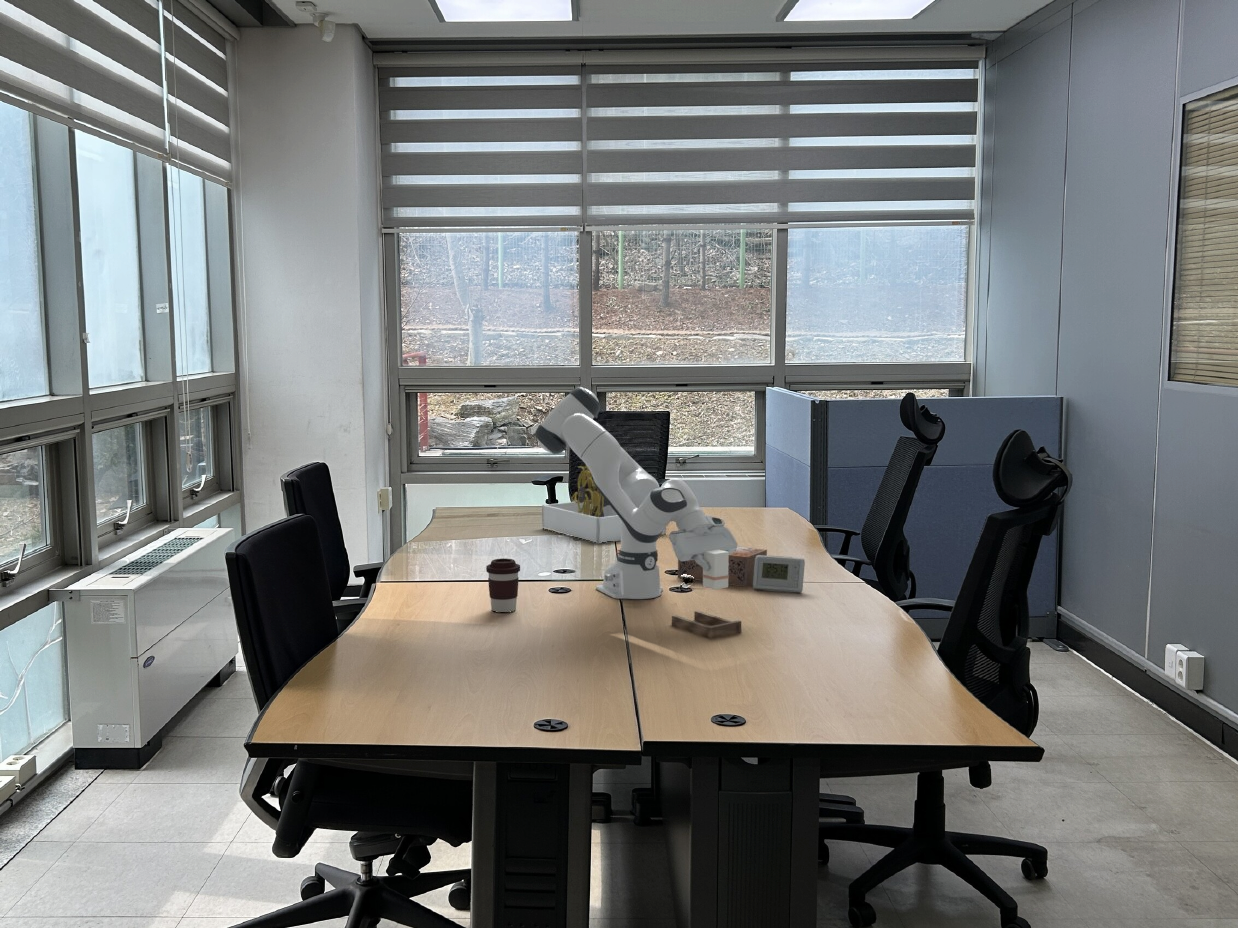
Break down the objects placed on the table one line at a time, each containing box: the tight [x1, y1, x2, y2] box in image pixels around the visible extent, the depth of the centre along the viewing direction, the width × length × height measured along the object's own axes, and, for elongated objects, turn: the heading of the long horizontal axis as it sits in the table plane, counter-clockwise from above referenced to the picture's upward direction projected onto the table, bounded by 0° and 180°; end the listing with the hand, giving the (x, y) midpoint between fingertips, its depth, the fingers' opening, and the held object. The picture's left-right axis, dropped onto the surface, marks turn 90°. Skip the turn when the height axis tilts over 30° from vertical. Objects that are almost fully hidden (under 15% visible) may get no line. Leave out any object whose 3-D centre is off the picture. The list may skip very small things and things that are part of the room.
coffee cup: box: [485, 557, 521, 613], centre depth 319 cm, size 10×10×15 cm
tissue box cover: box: [677, 545, 768, 588], centre depth 363 cm, size 26×14×10 cm, turn 56°
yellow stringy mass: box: [570, 464, 609, 518], centre depth 446 cm, size 26×32×30 cm
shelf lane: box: [669, 610, 742, 640], centre depth 295 cm, size 17×11×4 cm, turn 37°
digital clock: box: [752, 555, 806, 594], centre depth 345 cm, size 16×9×11 cm, turn 59°
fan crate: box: [541, 500, 667, 544], centre depth 447 cm, size 40×34×10 cm
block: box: [702, 550, 729, 590], centre depth 303 cm, size 6×5×10 cm
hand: (717, 568), depth 302 cm, fingers closed on block, 5 cm apart
